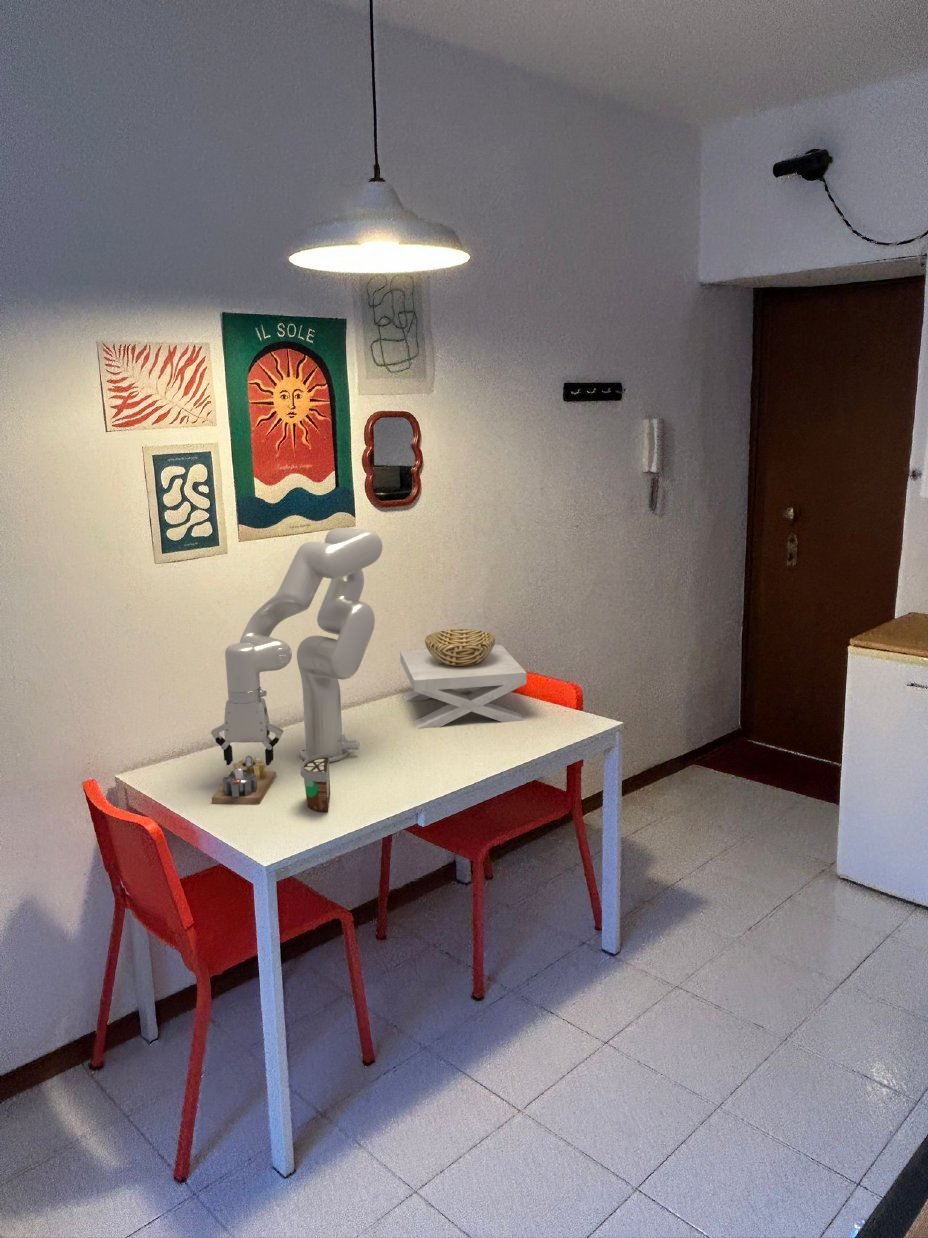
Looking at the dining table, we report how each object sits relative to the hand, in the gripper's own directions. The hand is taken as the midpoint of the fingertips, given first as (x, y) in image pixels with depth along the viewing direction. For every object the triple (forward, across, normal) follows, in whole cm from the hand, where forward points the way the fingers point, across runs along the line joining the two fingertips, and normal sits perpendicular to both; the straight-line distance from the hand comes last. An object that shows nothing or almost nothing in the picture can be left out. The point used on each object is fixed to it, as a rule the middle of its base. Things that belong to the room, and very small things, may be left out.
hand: (249, 763), depth 229 cm
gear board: (+5, 0, +4) cm, 7 cm away
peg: (+3, 0, 0) cm, 3 cm away
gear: (+3, 0, +8) cm, 9 cm away
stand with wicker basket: (+5, -48, -58) cm, 75 cm away
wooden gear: (+3, 0, 0) cm, 3 cm away
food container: (+5, -18, +12) cm, 23 cm away
